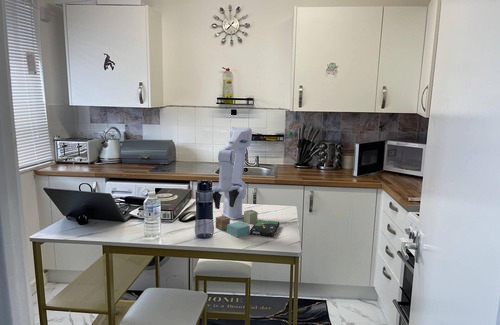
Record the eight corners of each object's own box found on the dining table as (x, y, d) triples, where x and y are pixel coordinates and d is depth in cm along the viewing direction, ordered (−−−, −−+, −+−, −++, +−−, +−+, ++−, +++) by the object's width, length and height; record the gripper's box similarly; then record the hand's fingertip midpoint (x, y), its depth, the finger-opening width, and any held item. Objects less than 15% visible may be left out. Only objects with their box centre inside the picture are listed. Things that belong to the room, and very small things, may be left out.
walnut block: (215, 227, 171) (215, 217, 170) (223, 225, 174) (224, 215, 173) (221, 230, 167) (221, 220, 166) (229, 228, 170) (229, 218, 169)
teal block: (226, 233, 165) (226, 224, 164) (239, 229, 170) (239, 221, 169) (236, 238, 160) (237, 229, 159) (249, 234, 165) (249, 225, 164)
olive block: (243, 221, 181) (244, 211, 180) (251, 219, 184) (251, 209, 183) (249, 224, 177) (250, 213, 176) (257, 222, 180) (257, 212, 179)
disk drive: (273, 239, 162) (279, 227, 176) (273, 233, 161) (279, 221, 175) (249, 236, 164) (257, 224, 178) (249, 229, 163) (257, 218, 178)
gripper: (217, 179, 159) (215, 211, 161) (244, 177, 168) (243, 207, 170) (208, 177, 164) (206, 208, 166) (234, 175, 174) (233, 204, 175)
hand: (224, 207), depth 168 cm, fingers open, 7 cm apart
